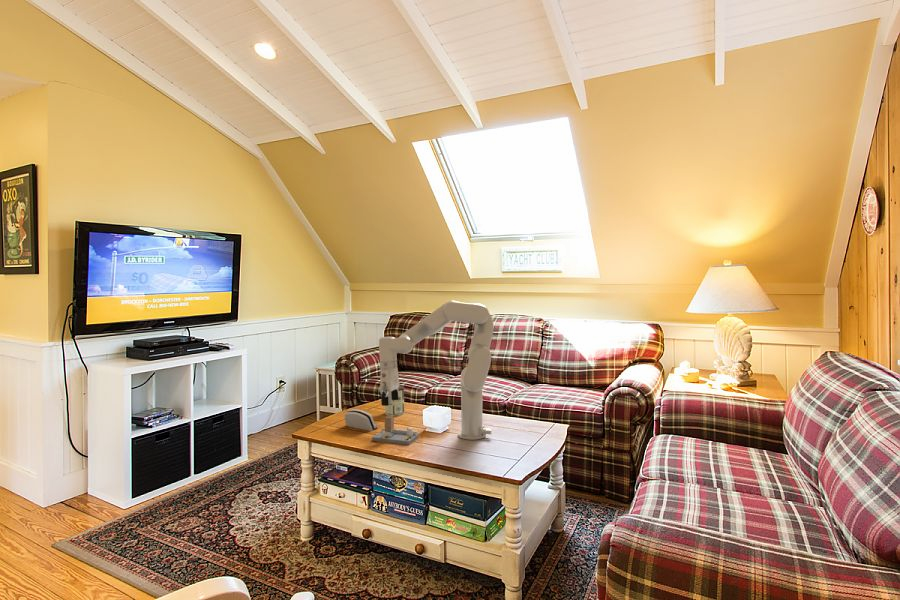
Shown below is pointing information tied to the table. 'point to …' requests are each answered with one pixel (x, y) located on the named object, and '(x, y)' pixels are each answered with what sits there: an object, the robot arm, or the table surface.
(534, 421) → the table surface
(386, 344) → the robot arm
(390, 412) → the coffee can
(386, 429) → the trammel slider
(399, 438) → the gauge board
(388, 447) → the table surface
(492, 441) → the table surface
